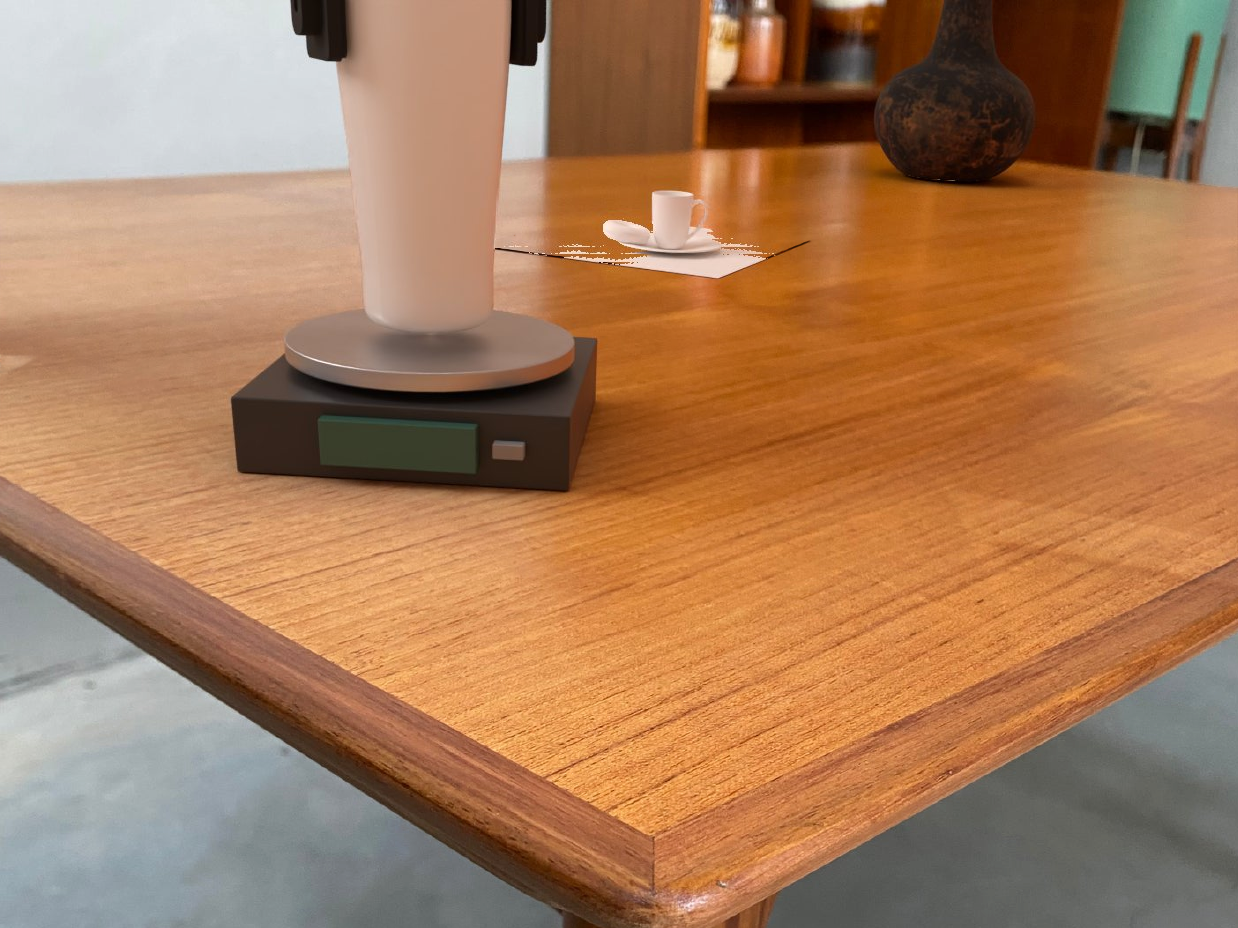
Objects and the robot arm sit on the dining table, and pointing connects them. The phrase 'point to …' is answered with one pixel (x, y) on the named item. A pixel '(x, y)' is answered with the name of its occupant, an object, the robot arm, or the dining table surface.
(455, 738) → the dining table surface
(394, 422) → the scale
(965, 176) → the rusty bud vase
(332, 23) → the robot arm
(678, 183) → the dining table surface
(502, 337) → the scale pan
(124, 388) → the dining table surface
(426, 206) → the drinking glass
